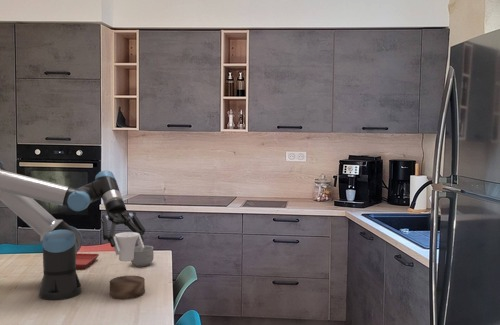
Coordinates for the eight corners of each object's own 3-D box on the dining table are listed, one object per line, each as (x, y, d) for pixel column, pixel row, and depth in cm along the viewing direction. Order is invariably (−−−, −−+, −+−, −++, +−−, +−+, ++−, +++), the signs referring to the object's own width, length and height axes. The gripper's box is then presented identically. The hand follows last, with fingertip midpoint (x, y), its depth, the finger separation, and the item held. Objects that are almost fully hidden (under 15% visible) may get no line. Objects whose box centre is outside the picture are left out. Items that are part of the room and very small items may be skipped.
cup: (115, 263, 185) (114, 237, 184) (115, 257, 194) (114, 231, 193) (140, 261, 187) (139, 235, 187) (138, 255, 196) (138, 230, 195)
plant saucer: (86, 271, 222) (86, 263, 222) (46, 270, 223) (46, 263, 223) (99, 260, 240) (99, 253, 240) (62, 260, 241) (62, 253, 241)
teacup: (150, 268, 226) (150, 250, 225) (126, 268, 226) (126, 250, 226) (157, 260, 240) (156, 243, 239) (134, 259, 240) (134, 243, 240)
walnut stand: (121, 301, 182) (121, 288, 182) (103, 293, 191) (103, 280, 191) (151, 293, 191) (151, 280, 191) (132, 285, 200) (132, 273, 200)
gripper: (137, 207, 208) (154, 252, 196) (85, 212, 195) (100, 261, 184) (142, 195, 203) (160, 241, 192) (89, 200, 191) (104, 249, 179)
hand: (130, 251), depth 188 cm, fingers closed on cup, 9 cm apart
